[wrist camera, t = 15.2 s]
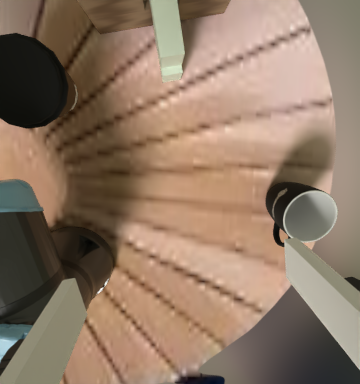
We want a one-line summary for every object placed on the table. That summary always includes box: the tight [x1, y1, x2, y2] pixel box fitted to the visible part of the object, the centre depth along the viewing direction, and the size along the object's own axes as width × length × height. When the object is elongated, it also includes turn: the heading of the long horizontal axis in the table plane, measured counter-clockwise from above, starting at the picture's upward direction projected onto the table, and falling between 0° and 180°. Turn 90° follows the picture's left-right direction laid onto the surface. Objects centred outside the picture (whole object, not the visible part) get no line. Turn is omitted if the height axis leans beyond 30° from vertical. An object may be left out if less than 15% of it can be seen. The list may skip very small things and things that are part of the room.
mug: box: [266, 182, 338, 247], centre depth 44 cm, size 12×9×10 cm
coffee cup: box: [0, 33, 78, 128], centre depth 35 cm, size 11×11×12 cm
